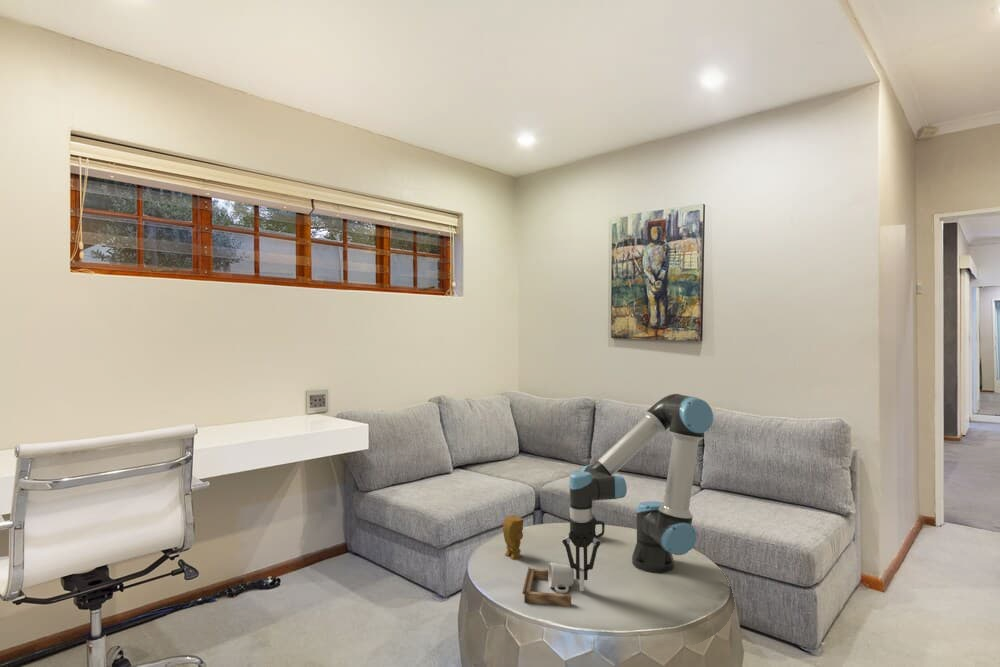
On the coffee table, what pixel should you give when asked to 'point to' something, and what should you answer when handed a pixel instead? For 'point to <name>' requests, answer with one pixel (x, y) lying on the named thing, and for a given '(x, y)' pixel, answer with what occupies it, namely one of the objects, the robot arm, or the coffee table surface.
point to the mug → (595, 526)
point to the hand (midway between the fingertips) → (582, 588)
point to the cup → (560, 577)
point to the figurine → (513, 535)
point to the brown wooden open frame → (540, 596)
